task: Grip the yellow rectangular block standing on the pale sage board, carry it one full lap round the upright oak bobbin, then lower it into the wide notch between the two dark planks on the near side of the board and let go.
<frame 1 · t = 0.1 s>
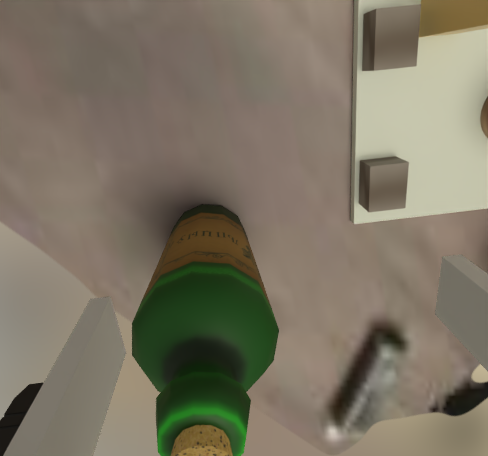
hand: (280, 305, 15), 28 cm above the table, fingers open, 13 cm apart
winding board: (452, 106, 40), on the table
yellow rectangular block: (440, 12, 35), point 1 cm above the table, touching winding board
notch board: (379, 115, 39), resting on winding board
bottle: (209, 236, 44), on the table
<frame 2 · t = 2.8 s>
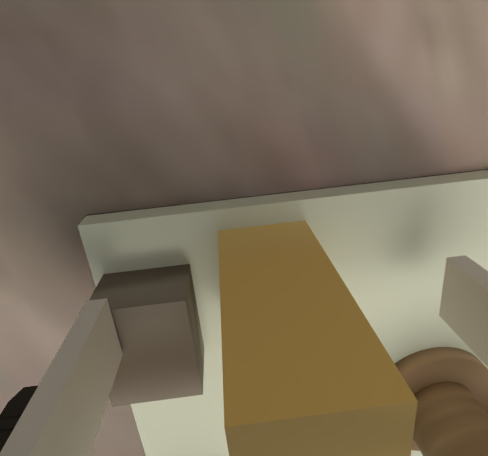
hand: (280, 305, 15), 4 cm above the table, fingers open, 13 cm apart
bobbin: (428, 394, 22), resting on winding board
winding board: (322, 379, 22), on the table
yellow rectangular block: (264, 264, 17), point 1 cm above the table, touching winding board
notch board: (179, 414, 21), resting on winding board
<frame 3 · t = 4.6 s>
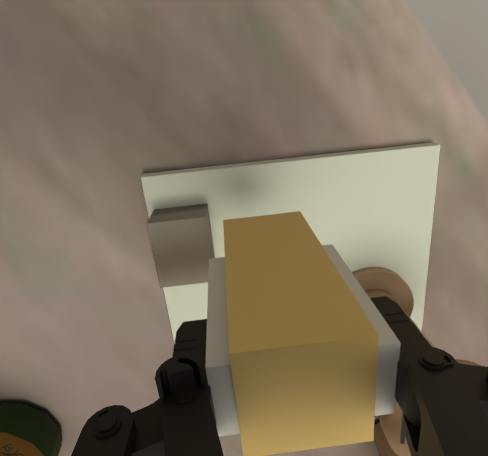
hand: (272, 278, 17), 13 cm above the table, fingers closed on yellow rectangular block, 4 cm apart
wooden block: (421, 435, 40), on the table
bobbin: (368, 303, 32), resting on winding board
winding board: (295, 293, 32), on the table
yellow rectangular block: (264, 250, 20), point 10 cm above the table, touching gripper
notch board: (198, 312, 31), resting on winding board
bottle: (19, 429, 36), on the table
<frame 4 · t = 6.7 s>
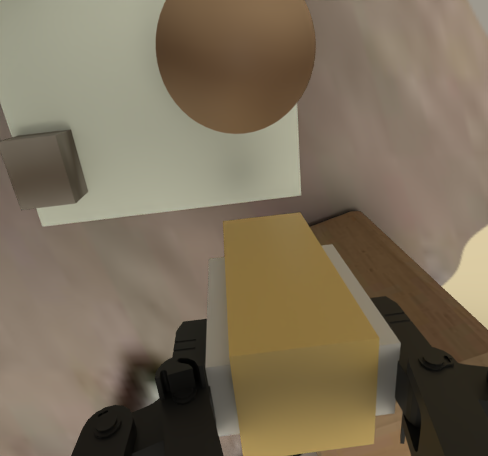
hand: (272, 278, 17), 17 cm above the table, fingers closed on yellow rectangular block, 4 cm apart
wooden block: (321, 266, 36), on the table
bobbin: (227, 61, 27), resting on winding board
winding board: (146, 56, 28), on the table
yellow rectangular block: (264, 251, 20), point 13 cm above the table, touching gripper
notch board: (25, 68, 26), resting on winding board
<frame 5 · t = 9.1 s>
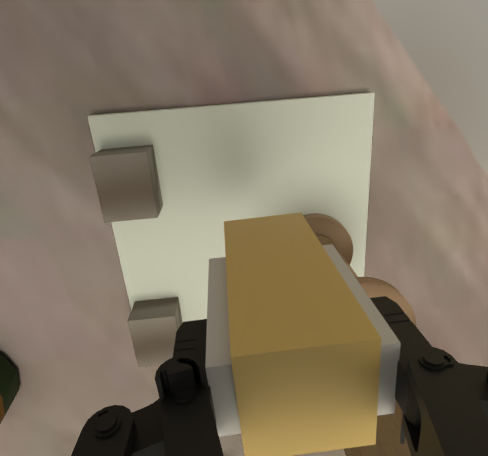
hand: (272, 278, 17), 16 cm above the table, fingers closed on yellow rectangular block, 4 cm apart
wooden block: (369, 387, 42), on the table
bobbin: (311, 249, 33), resting on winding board
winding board: (243, 240, 34), on the table
yellow rectangular block: (265, 251, 20), point 13 cm above the table, touching gripper
notch board: (148, 255, 32), resting on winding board
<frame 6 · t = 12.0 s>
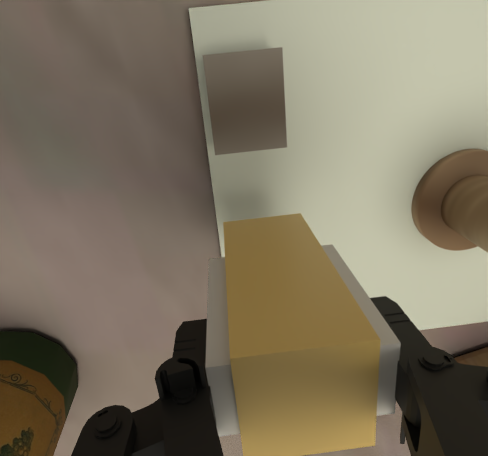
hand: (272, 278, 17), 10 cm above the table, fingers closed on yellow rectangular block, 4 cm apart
bobbin: (460, 199, 26), resting on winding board
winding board: (369, 190, 26), on the table
yellow rectangular block: (264, 252, 20), point 7 cm above the table, touching gripper
notch board: (252, 209, 25), resting on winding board
bottle: (27, 367, 30), on the table
when the fingers open (3 cm above the table, at t = 13.9 s): yellow rectangular block stays where it is, resting on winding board.
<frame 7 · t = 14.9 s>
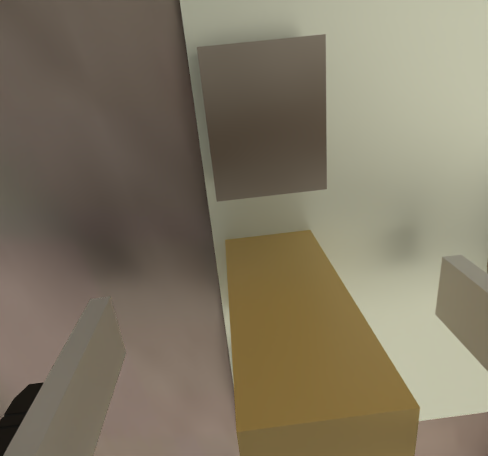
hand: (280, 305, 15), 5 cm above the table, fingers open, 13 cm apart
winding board: (428, 235, 19), on the table
yellow rectangular block: (270, 272, 18), point 1 cm above the table, touching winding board
notch board: (269, 265, 18), resting on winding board
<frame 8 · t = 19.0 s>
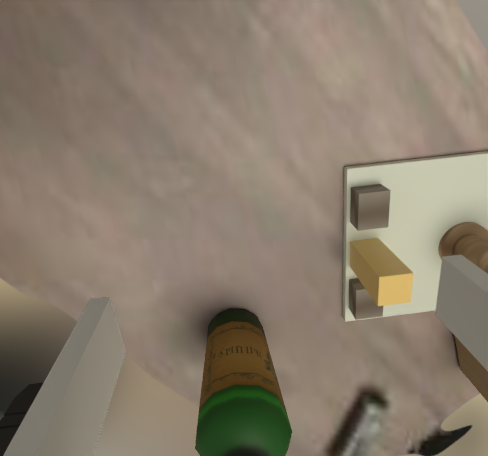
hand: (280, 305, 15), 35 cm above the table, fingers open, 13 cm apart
wooden block: (482, 337, 62), on the table
bobbin: (462, 244, 53), resting on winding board
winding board: (417, 239, 54), on the table
yellow rectangular block: (363, 252, 52), point 1 cm above the table, touching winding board
notch board: (363, 250, 52), resting on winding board
bottle: (235, 329, 58), on the table
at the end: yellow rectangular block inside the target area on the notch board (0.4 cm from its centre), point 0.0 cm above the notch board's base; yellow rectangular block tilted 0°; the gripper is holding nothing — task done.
